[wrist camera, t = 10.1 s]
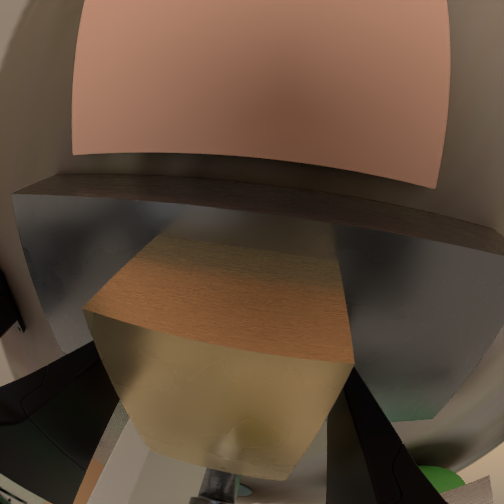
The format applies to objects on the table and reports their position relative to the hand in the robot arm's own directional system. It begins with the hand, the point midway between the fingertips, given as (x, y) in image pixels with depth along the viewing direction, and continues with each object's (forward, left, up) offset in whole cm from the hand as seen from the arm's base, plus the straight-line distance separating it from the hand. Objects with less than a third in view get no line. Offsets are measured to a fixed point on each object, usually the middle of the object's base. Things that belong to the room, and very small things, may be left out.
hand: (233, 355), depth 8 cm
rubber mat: (-1, +10, -4) cm, 11 cm away
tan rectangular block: (0, 0, -1) cm, 1 cm away
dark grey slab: (0, -2, -4) cm, 4 cm away
